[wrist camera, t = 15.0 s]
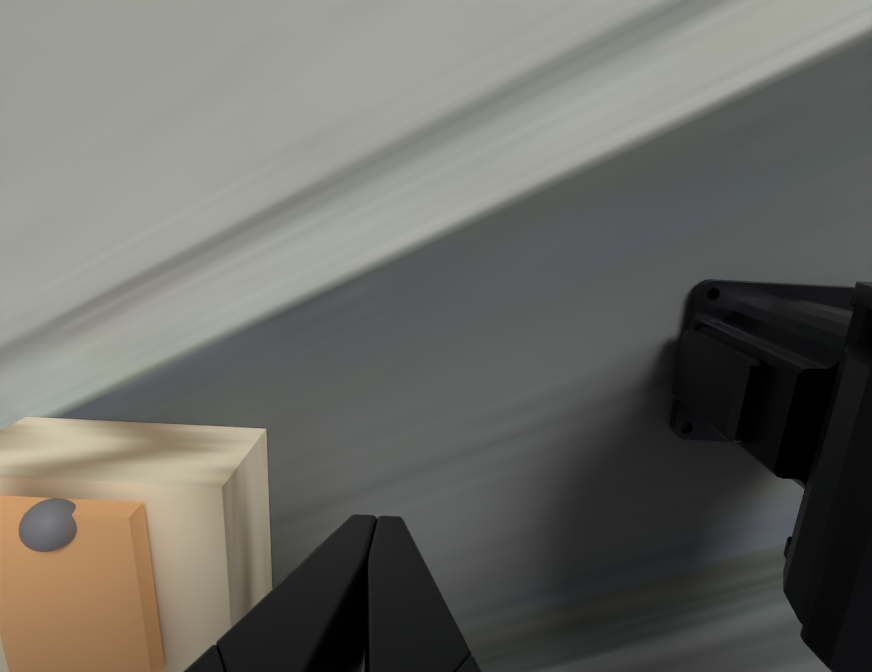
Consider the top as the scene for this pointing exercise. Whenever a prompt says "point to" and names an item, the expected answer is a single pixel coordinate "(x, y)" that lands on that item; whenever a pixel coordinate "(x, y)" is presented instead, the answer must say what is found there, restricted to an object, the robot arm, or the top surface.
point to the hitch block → (164, 510)
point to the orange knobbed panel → (77, 587)
